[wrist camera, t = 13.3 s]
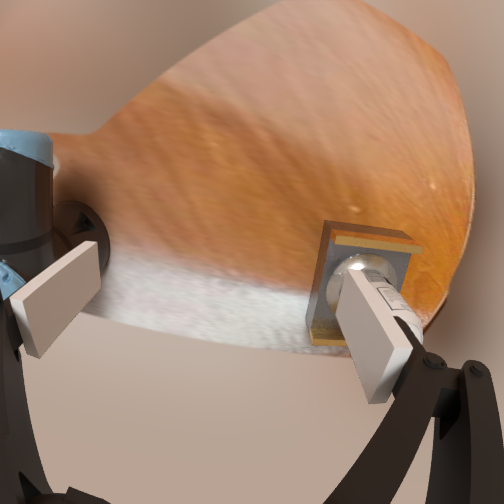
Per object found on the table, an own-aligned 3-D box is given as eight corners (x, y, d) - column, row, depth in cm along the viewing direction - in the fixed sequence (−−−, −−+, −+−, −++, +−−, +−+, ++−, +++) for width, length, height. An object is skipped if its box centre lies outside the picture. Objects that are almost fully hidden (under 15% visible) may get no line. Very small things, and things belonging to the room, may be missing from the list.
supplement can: (389, 302, 47) (427, 359, 33) (342, 318, 48) (368, 381, 34) (382, 259, 44) (427, 308, 30) (332, 275, 45) (361, 333, 31)
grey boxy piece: (305, 317, 54) (311, 344, 46) (324, 220, 48) (336, 235, 40) (376, 321, 54) (389, 346, 47) (401, 230, 48) (423, 246, 40)
